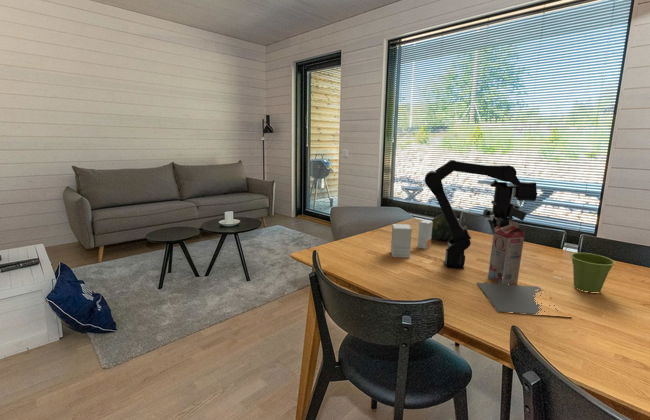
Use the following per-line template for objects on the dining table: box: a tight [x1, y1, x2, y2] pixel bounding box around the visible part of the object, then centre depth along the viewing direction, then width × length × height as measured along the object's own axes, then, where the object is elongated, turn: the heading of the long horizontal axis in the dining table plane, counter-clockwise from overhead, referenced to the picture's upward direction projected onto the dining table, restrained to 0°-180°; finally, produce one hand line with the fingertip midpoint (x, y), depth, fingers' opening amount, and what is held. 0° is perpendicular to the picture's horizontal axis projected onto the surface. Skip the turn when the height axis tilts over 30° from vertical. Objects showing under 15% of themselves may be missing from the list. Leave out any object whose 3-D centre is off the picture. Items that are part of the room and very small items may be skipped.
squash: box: [431, 212, 461, 241], centre depth 170 cm, size 14×15×15 cm
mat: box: [476, 282, 558, 314], centre depth 109 cm, size 20×20×1 cm
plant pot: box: [570, 252, 616, 293], centre depth 116 cm, size 12×12×11 cm
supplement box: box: [390, 223, 413, 259], centre depth 146 cm, size 7×7×13 cm
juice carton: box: [487, 220, 526, 285], centre depth 121 cm, size 7×7×22 cm
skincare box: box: [416, 219, 433, 250], centre depth 157 cm, size 6×4×12 cm
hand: (496, 240), depth 130 cm, fingers closed
